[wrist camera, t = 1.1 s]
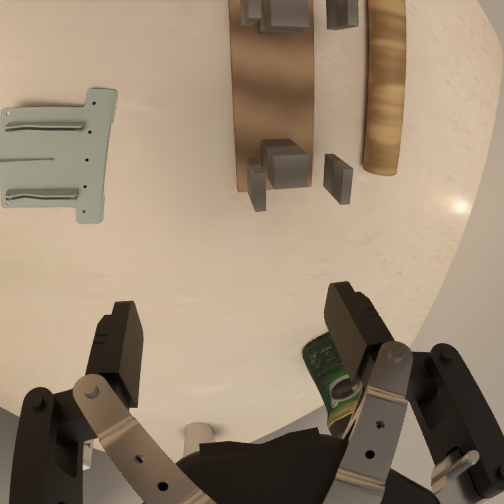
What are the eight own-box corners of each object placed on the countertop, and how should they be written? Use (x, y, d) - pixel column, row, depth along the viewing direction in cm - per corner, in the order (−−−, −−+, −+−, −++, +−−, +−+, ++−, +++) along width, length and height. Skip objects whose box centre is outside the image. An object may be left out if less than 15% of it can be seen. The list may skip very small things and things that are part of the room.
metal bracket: (-7, 232, 26) (-10, 92, 18) (4, 208, 30) (6, 85, 22) (112, 230, 33) (129, 92, 25) (109, 207, 37) (125, 87, 30)
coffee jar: (312, 367, 55) (343, 457, 39) (295, 347, 50) (328, 447, 35) (360, 343, 53) (401, 430, 38) (348, 319, 49) (396, 416, 33)
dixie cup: (190, 437, 65) (193, 475, 56) (172, 424, 60) (174, 465, 52) (223, 430, 64) (228, 469, 56) (207, 417, 59) (211, 459, 51)
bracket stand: (228, -15, 22) (243, -52, 13) (308, -11, 23) (357, -38, 14) (237, 188, 34) (253, 240, 25) (308, 183, 35) (348, 231, 26)
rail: (361, -3, 24) (380, -8, 20) (391, 4, 24) (412, 1, 21) (356, 164, 35) (373, 176, 32) (385, 164, 35) (403, 175, 32)
